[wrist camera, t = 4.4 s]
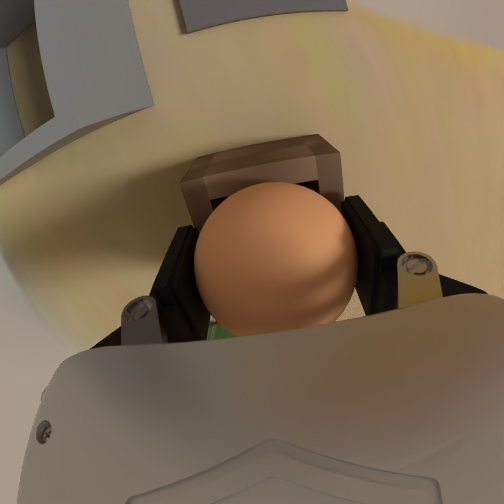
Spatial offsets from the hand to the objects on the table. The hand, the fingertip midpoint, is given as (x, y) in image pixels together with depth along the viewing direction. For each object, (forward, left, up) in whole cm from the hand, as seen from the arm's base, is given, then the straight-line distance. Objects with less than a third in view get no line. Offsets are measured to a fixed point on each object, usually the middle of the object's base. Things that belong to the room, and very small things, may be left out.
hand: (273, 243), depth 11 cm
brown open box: (0, 0, -5) cm, 5 cm away
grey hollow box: (+10, -12, -5) cm, 16 cm away
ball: (0, 0, +1) cm, 1 cm away
